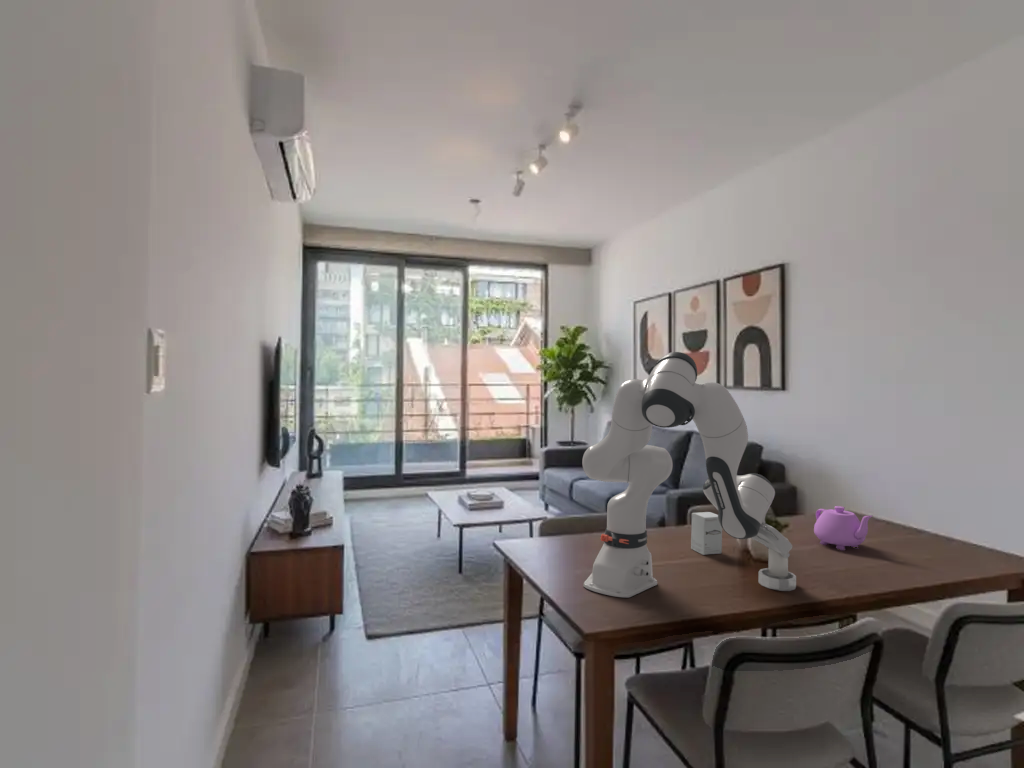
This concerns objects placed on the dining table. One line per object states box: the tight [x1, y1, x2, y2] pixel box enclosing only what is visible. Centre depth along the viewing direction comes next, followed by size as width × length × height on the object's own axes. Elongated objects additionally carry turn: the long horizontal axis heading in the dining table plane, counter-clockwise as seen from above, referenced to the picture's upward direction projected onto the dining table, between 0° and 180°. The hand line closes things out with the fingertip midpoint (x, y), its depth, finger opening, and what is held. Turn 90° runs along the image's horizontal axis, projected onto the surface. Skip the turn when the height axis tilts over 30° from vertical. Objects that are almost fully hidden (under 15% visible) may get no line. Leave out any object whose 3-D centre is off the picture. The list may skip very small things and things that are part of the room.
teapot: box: [813, 505, 873, 551], centre depth 194 cm, size 22×16×14 cm
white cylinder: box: [767, 537, 789, 577], centre depth 156 cm, size 5×5×10 cm
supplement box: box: [690, 511, 723, 556], centre depth 186 cm, size 7×7×13 cm
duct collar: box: [758, 567, 797, 592], centre depth 156 cm, size 9×9×3 cm
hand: (780, 552), depth 156 cm, fingers closed on white cylinder, 5 cm apart
